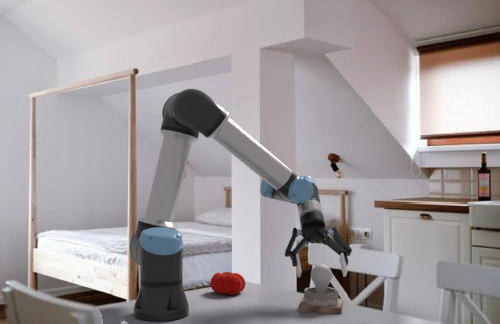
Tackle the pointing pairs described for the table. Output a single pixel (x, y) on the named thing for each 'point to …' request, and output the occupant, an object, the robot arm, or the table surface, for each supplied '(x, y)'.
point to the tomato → (227, 283)
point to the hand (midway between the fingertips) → (322, 274)
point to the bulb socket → (321, 301)
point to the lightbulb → (321, 277)
